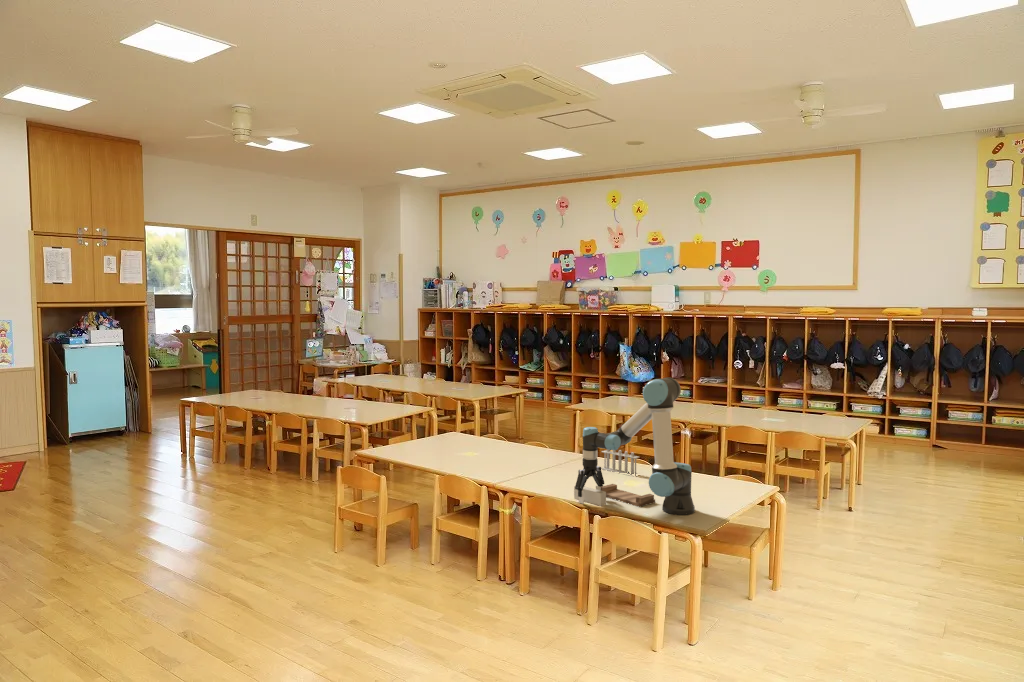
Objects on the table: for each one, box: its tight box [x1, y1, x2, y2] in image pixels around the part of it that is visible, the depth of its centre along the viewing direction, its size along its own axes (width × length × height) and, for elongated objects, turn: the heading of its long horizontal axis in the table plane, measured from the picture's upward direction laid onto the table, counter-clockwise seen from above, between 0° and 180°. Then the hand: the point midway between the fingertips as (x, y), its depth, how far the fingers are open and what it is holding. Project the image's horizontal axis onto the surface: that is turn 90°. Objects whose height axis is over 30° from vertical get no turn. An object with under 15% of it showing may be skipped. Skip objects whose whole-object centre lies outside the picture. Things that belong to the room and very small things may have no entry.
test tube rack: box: [601, 449, 640, 477], centre depth 417 cm, size 25×4×13 cm, turn 45°
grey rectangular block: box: [573, 485, 607, 507], centre depth 357 cm, size 18×4×6 cm, turn 41°
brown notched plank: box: [601, 483, 656, 508], centre depth 362 cm, size 28×12×4 cm, turn 38°
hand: (589, 500), depth 357 cm, fingers open, 11 cm apart
